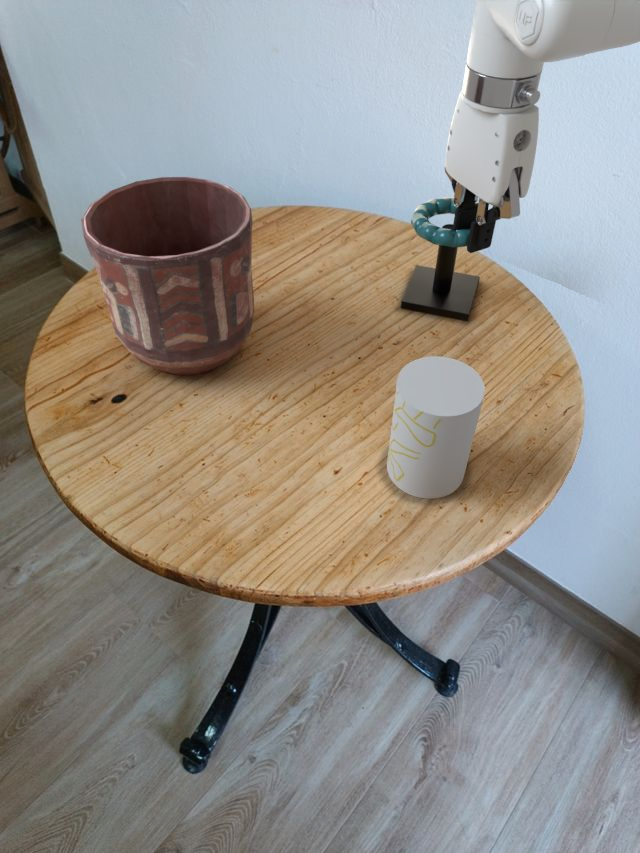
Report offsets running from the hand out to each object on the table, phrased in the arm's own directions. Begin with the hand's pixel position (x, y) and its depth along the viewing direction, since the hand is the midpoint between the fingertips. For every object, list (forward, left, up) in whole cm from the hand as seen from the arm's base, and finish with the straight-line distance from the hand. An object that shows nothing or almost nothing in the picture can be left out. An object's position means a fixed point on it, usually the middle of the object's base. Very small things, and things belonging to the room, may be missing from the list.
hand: (470, 241), depth 84 cm
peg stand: (+3, -3, -11) cm, 11 cm away
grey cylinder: (-2, +28, -11) cm, 30 cm away
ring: (+3, -3, +1) cm, 4 cm away
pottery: (+31, +17, -11) cm, 37 cm away
